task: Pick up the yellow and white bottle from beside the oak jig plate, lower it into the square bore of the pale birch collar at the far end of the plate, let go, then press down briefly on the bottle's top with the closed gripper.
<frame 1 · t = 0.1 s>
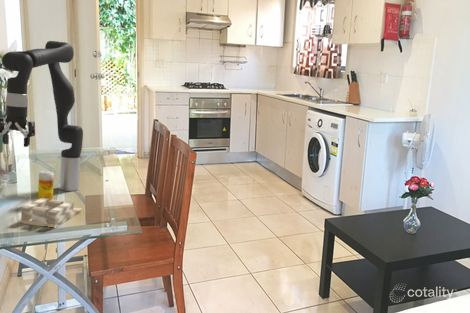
hand: (16, 145, 162), 29 cm above the table, tool pointing down, fingers open, 8 cm apart
jig: (53, 217, 169), on the table
yellow and white bottle: (45, 204, 184), on the table
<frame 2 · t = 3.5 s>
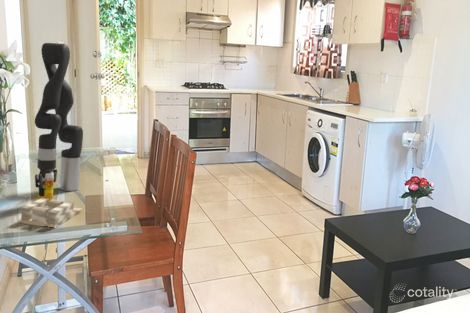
hand: (45, 194, 183), 5 cm above the table, tool pointing down, fingers closed on yellow and white bottle, 6 cm apart
yellow and white bottle: (45, 204, 184), on the table, touching gripper
when the fingers open (8 cm above the table, at t = 10.5 s): yellow and white bottle drops 2 cm, resting on jig.
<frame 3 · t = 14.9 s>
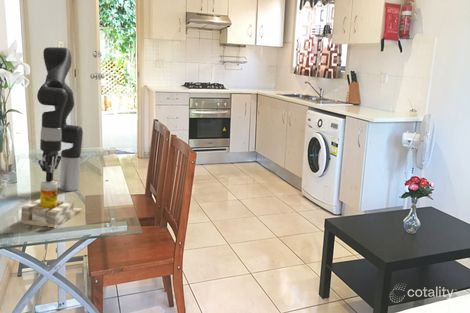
hand: (49, 180, 163), 17 cm above the table, tool pointing down, fingers closed
yellow and white bottle: (48, 216, 165), point 1 cm above the table, touching gripper, jig
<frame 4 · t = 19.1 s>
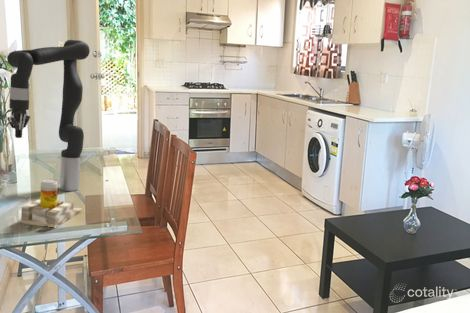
hand: (18, 137, 179), 29 cm above the table, tool pointing down, fingers closed
yellow and white bottle: (48, 216, 165), point 1 cm above the table, touching jig
at the end: yellow and white bottle 0.1 cm from the target spot on the jig, point 1.3 cm above the jig's base; yellow and white bottle tilted 0°; the gripper is holding nothing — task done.
